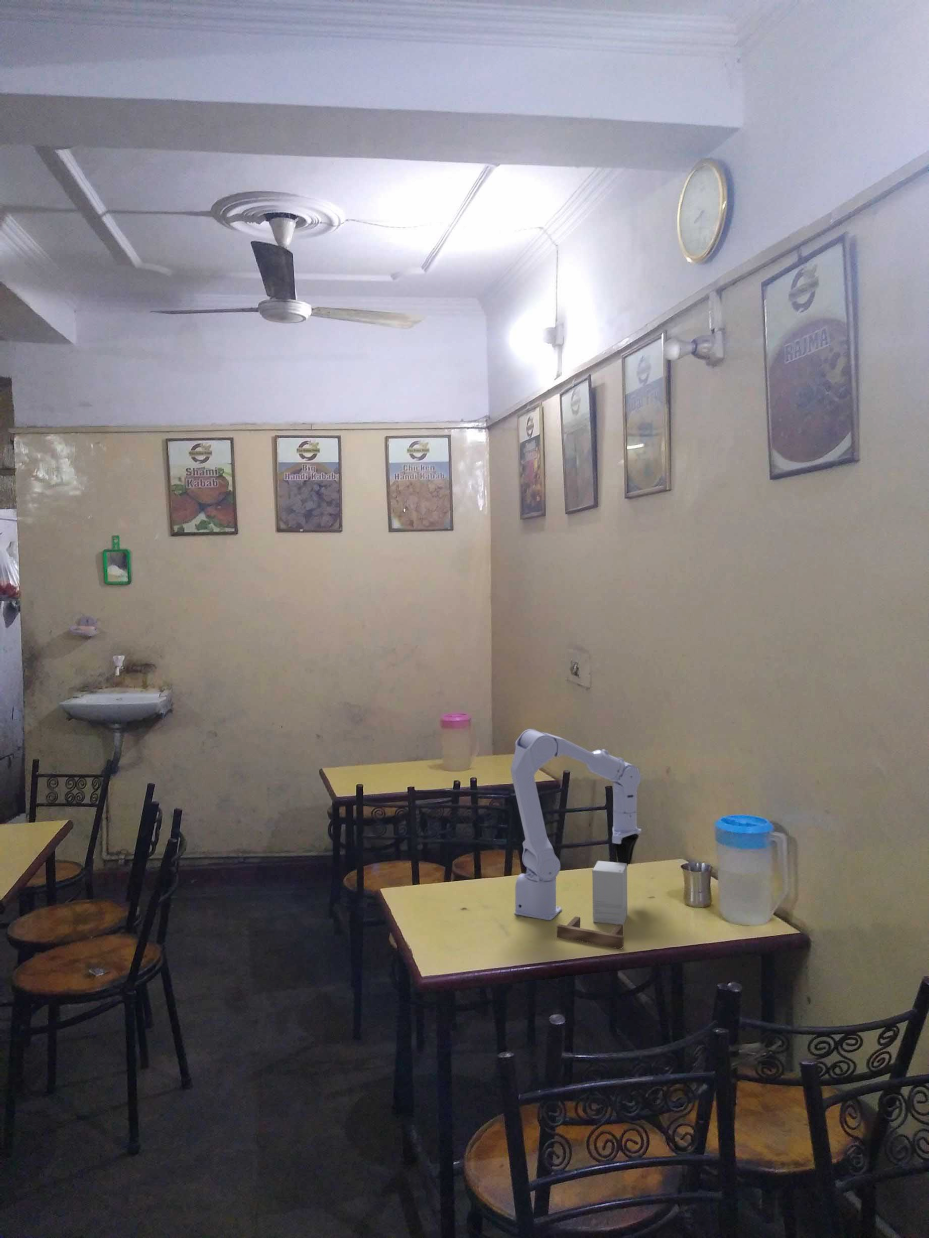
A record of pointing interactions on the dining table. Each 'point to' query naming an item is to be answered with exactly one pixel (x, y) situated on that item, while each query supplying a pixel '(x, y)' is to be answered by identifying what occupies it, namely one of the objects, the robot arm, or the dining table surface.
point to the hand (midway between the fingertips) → (624, 864)
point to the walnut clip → (591, 934)
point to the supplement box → (609, 892)
